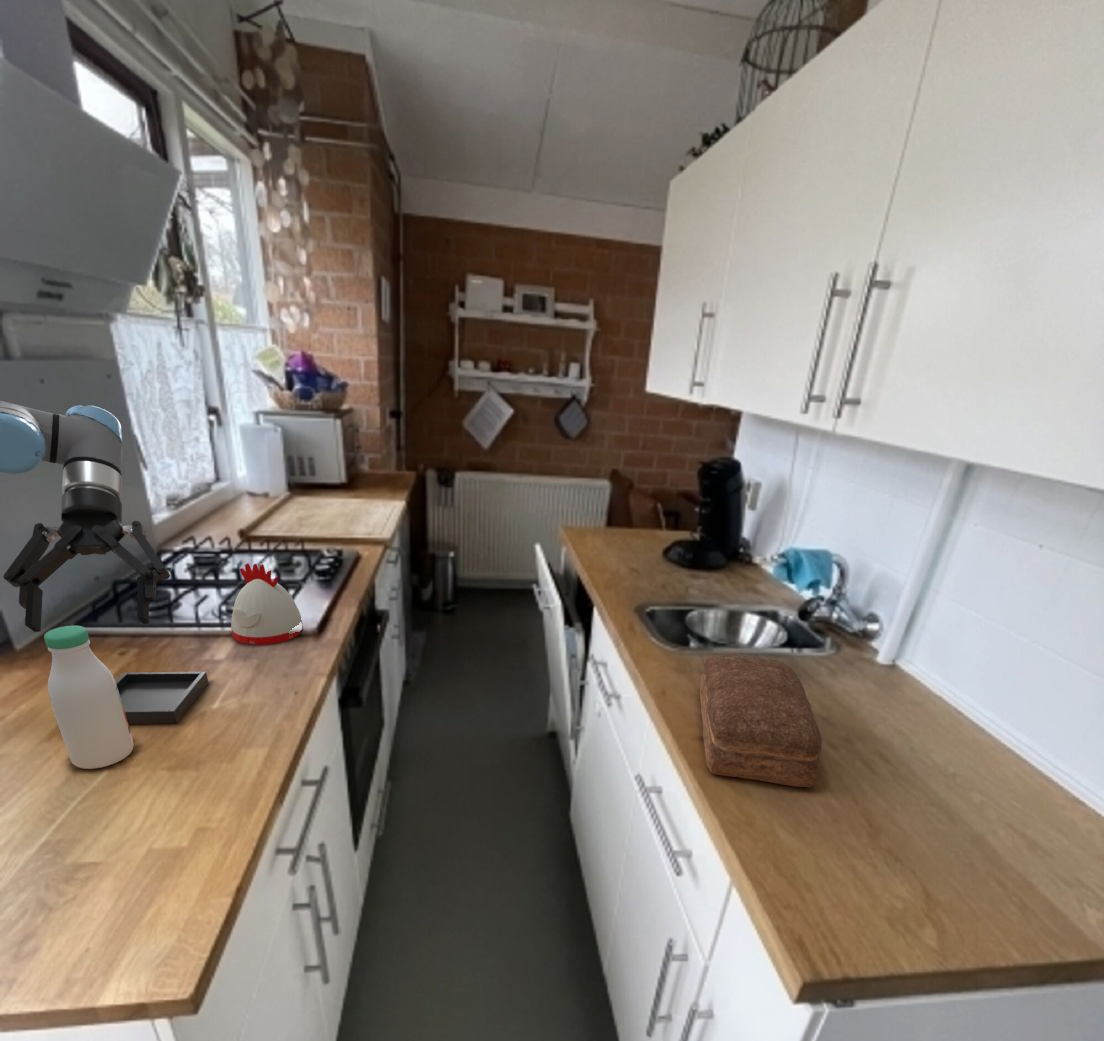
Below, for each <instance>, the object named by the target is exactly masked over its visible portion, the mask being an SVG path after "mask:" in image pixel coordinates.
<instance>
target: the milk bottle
mask: <svg viewBox="0 0 1104 1041" xmlns="http://www.w3.org/2000/svg"><path fill="white" fill-rule="evenodd" d="M43 639H44V642H45V645H46V647H47V651H48V652H50V653H51V668H50V671H49V675H48V680H47V693H48V698H49V701H50V704H51V708H52V711H53V714H54V717H55V720H56V723H57V726H58V729H59V732H60V735H61V738H62V741H63V744H64V746H65V749H66V752H67V755H68V758H69V760H70V762H71V763H72V765H74V766H75V767H77V768H79V769H86V770H94V769H101V768H105V767H109V766H111V765H115V764H117V763H118V762H120V761H123V760H124V759H125V758H127V757H128V756H130V754H131V753H132V751H133V750H134V739H133V735H132V732H131V728H130V724H128V721H127V718H126V714H125V711H124V708H123V704H122V701H121V698H120V694H119V691H118V688H117V685H116V682H115V680H116V679H115V678H114V675H113V674H112V672H111V671H110V669H109V668H108V667H107V666H106V665H105V664H104V663H103V662H102V660H100V659H99V658H98V657H97V656H96V655H95V652H93V650H92V649H91V647H90V644H91V640H90V638H89V633H88V630H87V628H86V627H85V626H81V625H65V626H59V627H55V628H53V629H50V630H48V631H46V632H45V634H44V635H43Z"/></svg>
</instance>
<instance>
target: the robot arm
mask: <svg viewBox="0 0 1104 1041" xmlns="http://www.w3.org/2000/svg"><path fill="white" fill-rule="evenodd" d="M122 430H123V429H122V424H121V423H120V421H119V419H118V418H117V417H116V416H115V415H114V414H113V413H111V412H109V410H106V409H103V408H101V407H99V406H95V405H89V404H88V405H86V406H83V405H80V404H79V405H74V406H71V407H70V408H68V409H67V410H66V412H65V414H60V413H59V414H58V413H52V412H48V411H43V410H39V409H36V408H32V407H27V406H23V405H20V404H15V403H11V402H8V401H4V400H0V473H4V474H9V475H10V474H11V475H12V474H13V475H14V474H15V475H16V474H24V473H27V472H30V471H32V470H34V469H35V468H36V467H37V466H38V465H40V464H41V463H42V462H48V463H50V464H58V465H63V467H62V482H61V483H62V485H61V493H62V495H61V510H60V519H61V521H60V523H59V525H58V527H57V526H45V525H44V524H43V523H41V522H37V523H35V524H34V525H33V531H32V535H31V537H30V538H29V539H28V541H27V542H26V544H25V545H24V547H23V548H22V549H21V551H20V552H19V553H18V555H17V556H16V557H15V559H14V560H13V561H12V563H11V564H10V566H9V567H8V568H7V570H6V571H5V573H4V574H3V577H2V578H3V579H4V580H5V581H6V582H8V583H9V584H10V585H11V586H12V587H13V588H19V594H18V605H19V606H20V607H22V608H23V609H24V610H25V617H24V618H25V619H24V626H25V627H27V628H28V629H30V630H31V631H32V632H33V633H37V632H42V614H43V612H42V611H43V593H44V591H43V589H41V587H40V585H42V584H43V583H44V582H45V581H46V580H47V579H48V578H50V577H51V576H52V575H53V574H54V573H55V572H56V571H57V570H59V568H61V567H62V566H63V565H64V564H65V563H66V562H67V561H69V560H72V559H74V558H75V557H76V556H77V555H79V554H80V555H81V556H90V555H99V556H100V555H107V553H109V552H112V553H114V554H115V556H117V557H118V558H120V559H121V560H122V561H123V562H125V563H126V564H127V565H128V566H129V567H130V568H131V569H133V570H134V571H135V572H136V573H137V574H138V575H140V576H141V577H140V576H139V577H136V580H137V582H136V583H137V584H136V585H137V587H136V592H137V593H136V602H137V603H136V604H137V606H136V608H137V610H136V611H137V612H136V614H137V616H136V617H137V619H138V620H139V621H140V622H141V624H143V625H147V624H148V625H149V624H150V602H156V600H157V583H158V582H159V581H161V580H168V579H170V577H171V574H170V573H169V571H168V568H166V566H165V565H164V563H163V562H162V560H161V559H160V558H159V556H158V554H157V553H156V551H155V550H154V548H153V547H152V545H151V544H150V542H149V541H148V537H147V531H146V529H145V528H144V526H143V524H142V523H141V522H140V520H133V521H132V523H131V524H127V525H126V524H125V525H122V523H123V504H122V501H123V460H124V459H123V455H124V454H123V453H124V440H123V433H122ZM126 535H128V536H129V537H130V538H131V539H132V540H135V541H136V542H137V543H138V545H139V546H140V547H141V549H142V551H143V552H144V554H145V555H146V556H147V558H148V559H149V560H150V562H151V564H152V565H153V567H154V569H151V568H149V567H147V566H146V565H145V564H144V563H142V562H141V561H140V560H139V559H138V558H137V557H136V556H135V555H133V553H131V552H130V551H129V550H128V549H126V548H125V547H124V546H123V545H122V544H121V543H120V541H121V540H122V539H123V538H124V537H125V536H126ZM57 537H60V538H59V539H58V541H56V542H55V538H57ZM54 542H55V543H54ZM50 543H54V545H53V546H54V547H52V549H50V550H49V551H48V552H47V553H46V551H47V550H48V548H49V546H50ZM68 547H69V548H68ZM45 553H46V554H45ZM44 554H45V555H44Z"/></svg>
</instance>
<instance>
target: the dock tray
mask: <svg viewBox="0 0 1104 1041" xmlns="http://www.w3.org/2000/svg"><path fill="white" fill-rule="evenodd" d="M114 680H115V682H116V685H117V688H118V691H119V694H120V698H121V701H122V704H123V708H124V711H125V714H126V718H127V721H128V725H158V724H159V725H161V724H163V725H164V724H165V725H167V724H168V725H169V724H178V723H179V721H180V720H181V719H182V717H183V716H184V715H185V714H186V712H187V711H188V710H189V709H190V708H191V706H192V704H193V703H194V702H195V701H196V700H197V698H198V697H199V696H200V694H201V693H202V692H203V691H204V690H205V688H206V686H207V685H208V684H209V678H208V674H207V671H129V672H128V671H127V672H126V671H124V672H123V673H121V674H120V675H119V677H118V678H116V679H114Z"/></svg>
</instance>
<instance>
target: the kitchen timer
mask: <svg viewBox="0 0 1104 1041" xmlns="http://www.w3.org/2000/svg"><path fill="white" fill-rule="evenodd" d="M239 572H240V574H241V576H242V577H243V579H244V581H245V583H246V584H245V585H244V586H243V587H242V588H241V589H240V591H239V593H238V594H237V596H236V598H235V601H234V603H233V610H232V614H231V621H230V629H231V634H232V635H231V636H232V637H233V639H234V640H235V641H237V642H239V643H241V644H246V645H254V646H260V645H262V646H263V645H272V644H279V643H282V642H286V641H289V640H291V639H294V638H296V637H297V636H299V635H300V634H301V633H302V632H295V633H293V634H290V635H289V633H288V632H289V631H290V630H292V628H294V627H295V626H297V625H299V623H300V622H301V621H302V622H303V619H302V620H301V618H302V615H301V612H300V610H299V608H298V606H297V604H296V602H295V600H294V598H293V594H291V593H289V592H288V591H287V590H286V589H285V588H284V587H283V586H282V585H281V584H279V583H278V582H279V576H276V577H274V578H273V580H272V570H267V571H266V568H265V566H264V564H263V563H262V564H260V565H259V566H258V563H254V564H253V565H252V568H251V565H250V563H249V562H247V563H245V564H244V567H241V568H239ZM232 632H233V633H232Z"/></svg>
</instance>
